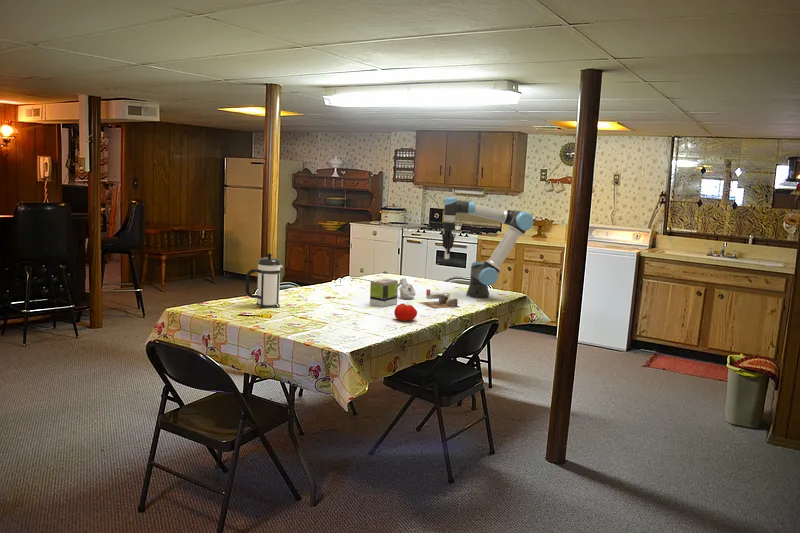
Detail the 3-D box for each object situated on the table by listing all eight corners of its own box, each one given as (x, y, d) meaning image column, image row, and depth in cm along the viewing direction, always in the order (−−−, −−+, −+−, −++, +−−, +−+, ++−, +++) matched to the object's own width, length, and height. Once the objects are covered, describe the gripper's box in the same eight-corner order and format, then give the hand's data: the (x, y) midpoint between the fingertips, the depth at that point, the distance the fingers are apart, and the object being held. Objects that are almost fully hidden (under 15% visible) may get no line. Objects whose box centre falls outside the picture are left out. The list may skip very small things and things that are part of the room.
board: (444, 302, 394) (445, 294, 393) (461, 308, 378) (462, 299, 377) (417, 304, 384) (418, 295, 383) (433, 310, 368) (434, 301, 367)
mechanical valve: (406, 296, 393) (398, 275, 399) (390, 310, 404) (382, 290, 410) (418, 296, 400) (410, 276, 406) (402, 310, 411) (394, 290, 417)
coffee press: (264, 302, 364) (265, 250, 360) (286, 305, 357) (288, 253, 353) (244, 306, 348) (245, 253, 344) (267, 310, 342) (269, 256, 337)
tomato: (419, 322, 335) (420, 307, 334) (397, 323, 332) (398, 307, 330) (412, 317, 347) (413, 302, 346) (390, 317, 344) (391, 302, 342)
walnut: (449, 304, 382) (450, 298, 382) (453, 306, 379) (454, 299, 378) (444, 305, 380) (444, 298, 380) (448, 306, 377) (448, 299, 376)
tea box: (384, 301, 386) (385, 277, 384) (397, 304, 381) (398, 280, 379) (369, 304, 374) (370, 280, 372) (382, 307, 369) (383, 282, 367)
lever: (446, 301, 389) (447, 287, 388) (451, 302, 385) (452, 289, 383) (423, 302, 380) (424, 289, 378) (428, 304, 375) (429, 290, 374)
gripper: (438, 220, 402) (436, 257, 405) (450, 222, 391) (447, 260, 394) (448, 221, 406) (446, 257, 409) (460, 222, 394) (457, 260, 398)
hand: (446, 258), depth 401 cm, fingers closed
